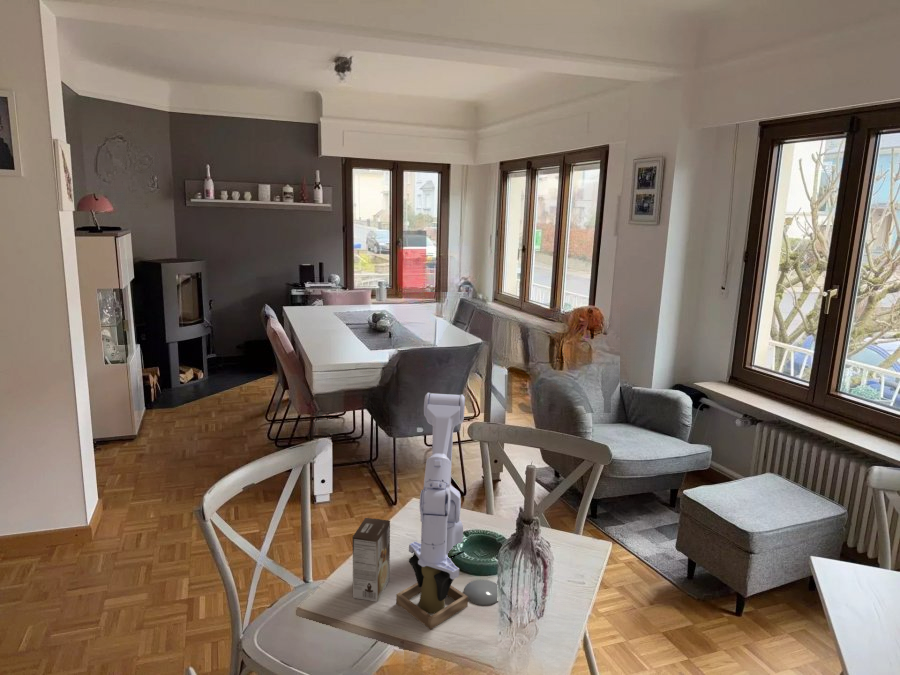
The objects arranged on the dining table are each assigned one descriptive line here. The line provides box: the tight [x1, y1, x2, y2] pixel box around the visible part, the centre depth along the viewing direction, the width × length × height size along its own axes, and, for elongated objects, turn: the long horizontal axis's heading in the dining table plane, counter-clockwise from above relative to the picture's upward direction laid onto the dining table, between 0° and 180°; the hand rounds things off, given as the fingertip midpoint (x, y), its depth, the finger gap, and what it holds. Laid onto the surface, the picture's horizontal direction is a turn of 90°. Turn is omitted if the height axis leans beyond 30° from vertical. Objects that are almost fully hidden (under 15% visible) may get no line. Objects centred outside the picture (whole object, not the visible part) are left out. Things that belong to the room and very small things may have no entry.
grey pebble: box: [463, 579, 498, 606], centre depth 147 cm, size 9×9×1 cm
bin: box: [395, 582, 469, 630], centre depth 141 cm, size 12×12×2 cm
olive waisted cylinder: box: [418, 566, 446, 615], centre depth 140 cm, size 6×6×11 cm
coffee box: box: [352, 517, 391, 602], centre depth 145 cm, size 9×6×16 cm
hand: (432, 591), depth 141 cm, fingers open, 6 cm apart
